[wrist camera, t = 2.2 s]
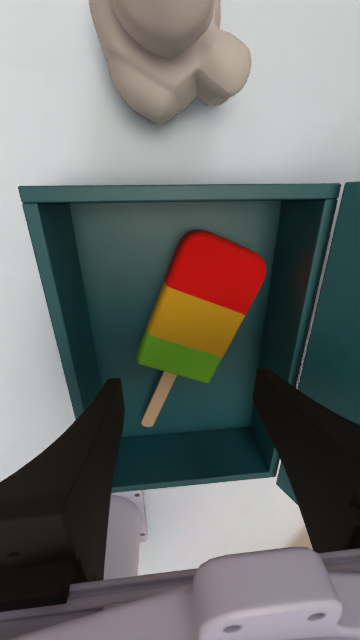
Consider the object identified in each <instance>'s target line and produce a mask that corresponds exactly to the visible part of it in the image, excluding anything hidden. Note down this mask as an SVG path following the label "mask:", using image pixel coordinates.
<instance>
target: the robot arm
mask: <svg viewBox="0 0 360 640" xmlns="http://www.w3.org/2000/svg"><path fill="white" fill-rule="evenodd" d="M253 401H254V404H255V407H256V410H257V412H258V415H259V417H260V419H261V421H262V423H263V425H264V427H265V429H266V431H267V433H268V435H269V437H270V439H271V441H272V443H273V445H274V447H275V449H276V451H277V453H278V455H279V457H280V459H281V461H282V463H283V466H284V468H285V471H286V474H287V476H288V479H289V481H290V484H291V486H292V489H293V492H294V495H295V497H296V500H297V503H298V505H299V508H300V511H301V514H302V517H303V520H304V523H305V526H306V529H307V532H308V535H309V538H310V541H311V544H312V548H313V550H311V549H309V548H307V547H289V548H281V549H272V550H264V551H256V552H248V553H239V554H231V555H224V556H220V557H216V558H213V559H210V560H208V561H207V562H205V563H203V564H202V565H200V566H199V568H197V569H189V570H181V571H173V572H165V573H157V574H149V575H141V576H138V558H139V542H145V541H146V540H147V539H148V534H147V526H146V517H145V509H144V501H143V492H142V490H137V491H127V492H117V493H111V491H112V482H113V476H114V470H115V465H116V460H117V455H118V450H119V445H120V441H121V436H122V431H123V424H124V412H125V406H124V398H123V391H122V384H121V378H109V379H108V380H107V381H106V382H105V384H104V385H103V387H102V388H101V389H100V391H99V392H98V394H97V395H96V396H95V398H94V399H93V400H92V402H91V403H90V404H89V405H88V407H87V408H86V409H85V410H84V411H83V413H82V414H81V415H80V416H79V417H78V418H77V420H76V421H75V422H74V423H73V424H72V425H71V426H70V427H69V428H68V429H67V430H66V431H65V432H64V433H63V434H62V435H61V436H60V437H59V438H58V439H57V440H56V441H55V442H53V443H52V444H51V445H50V446H49V447H48V448H46V449H45V450H44V451H43V452H42V453H41V454H39V455H38V456H37V457H35V458H34V459H33V460H32V461H30V462H29V463H28V464H26V465H25V466H23V467H22V468H21V469H19V470H18V471H16V472H15V473H14V474H12V475H11V476H9V477H8V478H6V479H5V480H3V481H1V482H0V640H360V425H359V424H357V423H355V422H353V421H351V420H348V419H346V418H344V417H342V416H340V415H339V414H337V413H335V412H333V411H331V410H330V409H328V408H326V407H324V406H323V405H321V404H319V403H318V402H316V401H314V400H313V399H311V398H310V397H308V396H307V395H305V394H304V393H302V392H301V391H299V390H298V389H296V388H295V387H294V386H292V385H291V384H289V383H288V382H287V381H285V380H284V379H283V378H281V377H280V376H279V375H277V374H276V373H274V372H273V371H272V370H270V369H269V368H262V369H257V372H256V379H255V386H254V393H253Z"/></svg>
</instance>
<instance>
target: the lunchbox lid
mask: <svg viewBox="0 0 360 640" xmlns="http://www.w3.org/2000/svg"><path fill="white" fill-rule="evenodd" d="M298 390H299V391H301V392H302V393H304V394H305V395H307V396H308V397H310V398H311V399H313V400H314V401H316V402H318V403H319V404H321V405H323V406H324V407H326V408H328V409H330V410H331V411H333V412H335V413H337V414H339V415H340V416H342V417H344V418H346V419H348V420H351V421H353V422H355V423H357V424H359V425H360V181H359V182H347V183H345V186H344V190H343V194H342V199H341V203H340V208H339V212H338V216H337V221H336V225H335V229H334V234H333V238H332V242H331V247H330V251H329V256H328V260H327V264H326V269H325V273H324V277H323V282H322V286H321V290H320V295H319V299H318V304H317V308H316V312H315V317H314V321H313V325H312V330H311V334H310V338H309V343H308V347H307V351H306V356H305V360H304V365H303V369H302V373H301V378H300V382H299V386H298ZM276 484H277V485H278V486H279V487H280V488H281V489H282V490H283V491H284V492H285V493H286V494H287V495H288V496H289V497H290V498H291V499H292V500H293V501H294V502H295V503H296V504H297V505H298V503H297V500H296V497H295V495H294V492H293V489H292V486H291V484H290V481H289V479H288V476H287V474H286V471H285V468H284V466H283V463H282V461H281V465H280V469H279V474H278V478H277V482H276Z"/></svg>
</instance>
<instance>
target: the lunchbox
mask: <svg viewBox="0 0 360 640" xmlns="http://www.w3.org/2000/svg"><path fill="white" fill-rule="evenodd" d="M340 187H341V184H340V183H331V184H207V185H83V186H19V187H18V189H19V193H20V197H21V201H22V203H23V204H22V205H23V209H24V213H25V217H26V221H27V225H28V229H29V233H30V237H31V242H32V246H33V250H34V254H35V258H36V262H37V266H38V270H39V274H40V278H41V282H42V286H43V290H44V294H45V298H46V302H47V306H48V310H49V314H50V318H51V322H52V326H53V330H54V334H55V338H56V342H57V346H58V350H59V354H60V358H61V362H62V366H63V370H64V374H65V378H66V382H67V386H68V390H69V394H70V398H71V402H72V406H73V410H74V414H75V418H76V420H77V418H78V417H79V416H80V415H81V414H82V413H83V411H84V410H85V409H86V408H87V407H88V405H89V404H90V403H91V402H92V400H93V399H94V398H95V396H96V395H97V394H98V392H99V391H100V389H101V388H102V387H103V385H104V384H105V382H106V381H107V380H108V379H109V378H121V384H122V391H123V398H124V406H125V412H124V424H123V431H122V436H121V441H120V445H119V450H118V455H117V460H116V465H115V470H114V476H113V482H112V491H111V493H117V492H127V491H137V490H147V489H157V488H167V487H177V486H187V485H197V484H207V483H217V482H227V481H237V480H247V479H257V478H267V477H275V476H276V473H277V469H278V464H279V460H280V457H279V455H278V453H277V451H276V449H275V447H274V445H273V443H272V441H271V439H270V437H269V435H268V433H267V431H266V429H265V427H264V425H263V423H262V421H261V419H260V417H259V415H258V412H257V410H256V407H255V404H254V401H253V393H254V386H255V379H256V372H257V369H262V368H269V369H270V370H272V371H273V372H274V373H276V374H277V375H279V376H280V377H281V378H283V379H284V380H285V381H287V382H288V383H289V384H291V385H292V386H294V387H295V388H296V384H297V379H298V375H299V370H300V366H301V361H302V357H303V353H304V348H305V344H306V339H307V335H308V330H309V326H310V321H311V317H312V312H313V308H314V303H315V299H316V294H317V290H318V286H319V281H320V277H321V272H322V268H323V263H324V259H325V254H326V250H327V245H328V241H329V236H330V232H331V227H332V223H333V219H334V214H335V210H336V205H337V198H338V196H339V192H340ZM192 230H205V231H208V232H211V233H214V234H216V235H218V236H221V237H223V238H225V239H228V240H230V241H232V242H235V243H237V244H239V245H241V246H244V247H246V248H248V249H250V250H252V251H254V252H256V253H257V254H259V255H260V256H261V257H262V258H263V260H264V261H265V264H266V267H267V270H266V276H265V279H264V281H263V284H262V286H261V288H260V289H259V291H258V293H257V295H256V297H255V299H254V300H253V302H252V304H251V306H250V308H249V310H248V312H247V313H246V315H245V317H244V319H243V321H242V323H241V325H240V326H239V328H238V330H237V332H236V334H235V336H234V338H233V339H232V341H231V343H230V345H229V347H228V349H227V351H226V352H225V354H224V356H223V358H222V360H221V362H220V364H219V365H218V367H217V369H216V371H215V373H214V375H213V377H212V378H211V380H210V382H209V383H205V382H201V381H198V380H194V379H190V378H187V377H183V376H180V375H177V376H176V378H175V380H174V382H173V385H172V387H171V389H170V391H169V393H168V395H167V397H166V399H165V401H164V404H163V406H162V408H161V410H160V412H159V414H158V416H157V418H156V420H155V423H154V425H153V426H151V427H145V426H143V425H142V423H141V422H142V418H143V416H144V413H145V411H146V409H147V407H148V404H149V402H150V400H151V398H152V395H153V393H154V391H155V389H156V386H157V384H158V382H159V380H160V378H161V375H162V373H163V371H162V370H158V369H154V368H151V367H147V366H144V365H140V364H139V363H138V362H137V361H136V354H137V349H138V347H139V344H140V341H141V339H142V336H143V334H144V331H145V328H146V326H147V323H148V321H149V318H150V315H151V313H152V310H153V308H154V305H155V302H156V300H157V297H158V295H159V292H160V289H161V287H162V284H163V282H164V279H165V276H166V274H167V271H168V269H169V266H170V263H171V261H172V258H173V256H174V253H175V250H176V248H177V246H178V244H179V242H180V240H181V238H182V237H183V236H184V235H185V234H186V233H188V232H190V231H192Z"/></svg>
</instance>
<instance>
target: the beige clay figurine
mask: <svg viewBox="0 0 360 640" xmlns="http://www.w3.org/2000/svg"><path fill="white" fill-rule="evenodd" d="M89 5H90V10H91V14H92V18H93V22H94V26H95V29H96V32H97V35H98V38H99V41H100V44H101V47H102V50H103V53H104V56H105V58H106V61H107V63H108V66H109V71H110V75H111V78H112V81H113V83H114V85H115V87H116V88H117V90H118V92H119V93H120V95H121V96H122V98H123V99H124V101H125V102H126V103H127V104H128V105H129V106H130V107H131V108H132V109H133V110H134V111H136V112H137V113H139V114H141V115H142V116H144V117H145V118H147V119H149V120H150V121H152V122H154V123H156V124H163V123H165V122H167V121H169V120H170V119H171V118H173V117H174V116H175V115H176V114H177V113H178V112H180V111H182V110H184V109H185V108H186V107H187V106H188V105H189V104H190V103H191V102H192V101H193V100H194V99H195V98H196V97H197V98H199V100H201V101H202V102H203V103H205V104H207V105H210V106H216V105H220V104H222V103H224V102H225V101H227V100H228V98H229V97H231V96H234V95H235V94H236V93H238V92H239V91H240V90H241V89H242V88H243V87H244V85H245V83H246V82H247V79H248V76H249V73H250V68H251V55H250V51H249V49H248V47H247V46H246V45H245V44H244V43H243V42H241V41H240V40H239V39H237V38H236V37H235V36H233V35H232V34H230V33H228V32H226V31H223V30H220V29H219V26H220V18H221V10H220V0H89Z"/></svg>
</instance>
